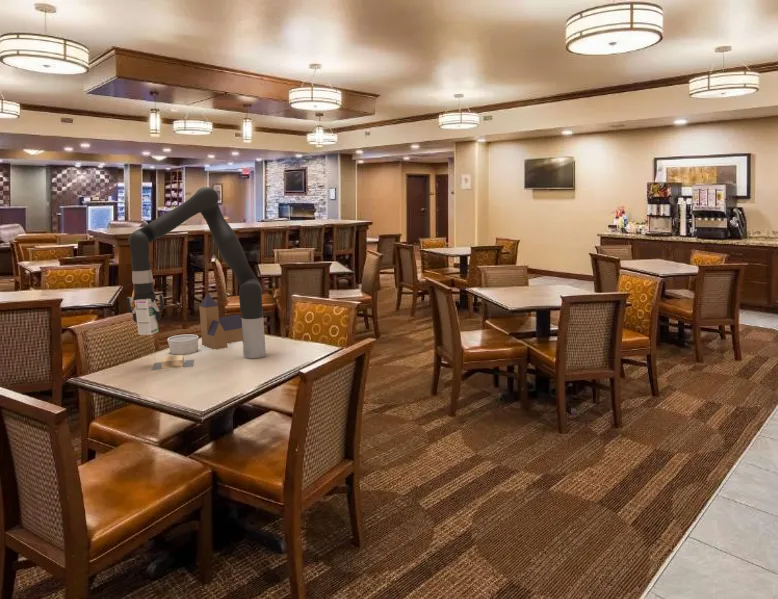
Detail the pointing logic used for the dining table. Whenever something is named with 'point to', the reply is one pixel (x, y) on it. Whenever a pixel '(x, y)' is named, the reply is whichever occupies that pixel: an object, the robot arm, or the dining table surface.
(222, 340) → the toy church
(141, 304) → the syrup box
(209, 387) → the dining table surface
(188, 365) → the build mat
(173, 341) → the ramekin
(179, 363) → the maple slab
